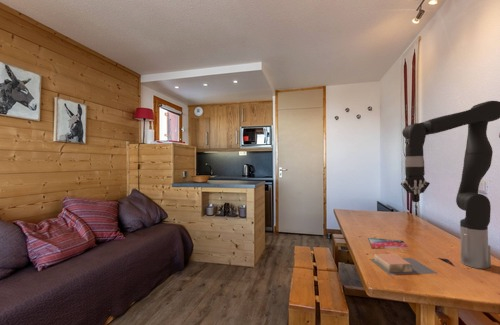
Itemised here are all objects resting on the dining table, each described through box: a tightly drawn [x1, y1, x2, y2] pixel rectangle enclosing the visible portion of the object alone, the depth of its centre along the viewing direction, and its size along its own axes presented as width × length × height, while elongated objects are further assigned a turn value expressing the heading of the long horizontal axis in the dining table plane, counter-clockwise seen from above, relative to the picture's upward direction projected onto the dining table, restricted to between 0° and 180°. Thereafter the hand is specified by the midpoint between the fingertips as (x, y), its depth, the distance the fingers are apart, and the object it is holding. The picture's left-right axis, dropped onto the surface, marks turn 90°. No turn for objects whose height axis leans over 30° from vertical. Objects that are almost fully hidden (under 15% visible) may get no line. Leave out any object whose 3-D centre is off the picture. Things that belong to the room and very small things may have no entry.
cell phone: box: [437, 258, 454, 267], centre depth 113 cm, size 8×15×1 cm, turn 66°
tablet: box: [367, 237, 409, 250], centre depth 134 cm, size 19×25×1 cm
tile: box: [373, 253, 412, 272], centre depth 107 cm, size 3×12×10 cm
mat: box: [369, 257, 438, 276], centre depth 107 cm, size 21×16×1 cm
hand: (415, 201), depth 112 cm, fingers closed
